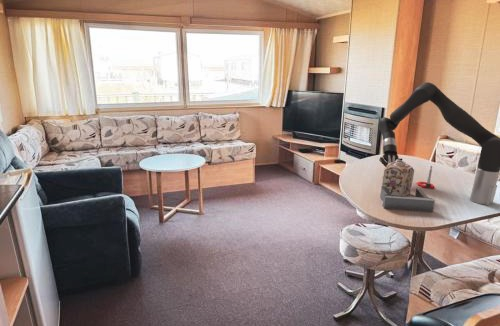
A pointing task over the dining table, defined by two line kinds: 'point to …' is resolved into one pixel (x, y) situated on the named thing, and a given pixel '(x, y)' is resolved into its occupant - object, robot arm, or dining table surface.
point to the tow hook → (428, 184)
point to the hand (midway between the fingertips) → (391, 173)
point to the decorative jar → (398, 178)
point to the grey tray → (407, 201)
